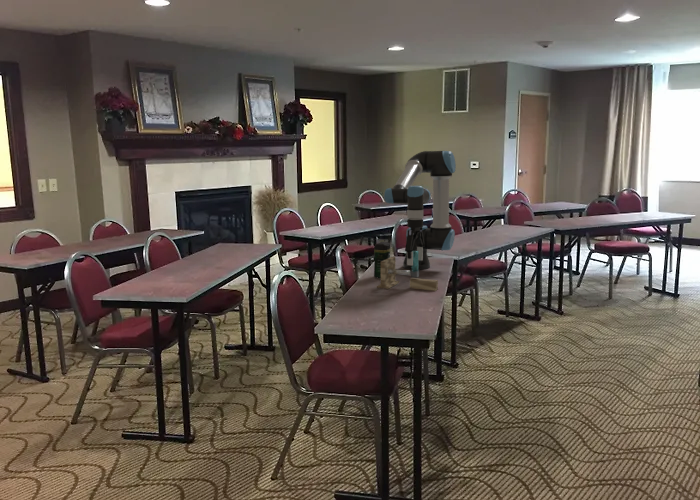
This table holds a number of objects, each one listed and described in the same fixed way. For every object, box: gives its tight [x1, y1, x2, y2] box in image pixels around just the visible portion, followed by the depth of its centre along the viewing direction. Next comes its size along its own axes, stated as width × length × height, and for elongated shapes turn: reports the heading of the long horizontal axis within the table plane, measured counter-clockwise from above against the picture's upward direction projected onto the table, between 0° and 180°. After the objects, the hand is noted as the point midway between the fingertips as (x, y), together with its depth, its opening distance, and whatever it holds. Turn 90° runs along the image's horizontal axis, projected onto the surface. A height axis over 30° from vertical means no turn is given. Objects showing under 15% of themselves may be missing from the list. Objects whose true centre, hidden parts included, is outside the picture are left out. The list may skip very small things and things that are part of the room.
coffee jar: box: [373, 241, 391, 279], centre depth 304 cm, size 10×8×19 cm
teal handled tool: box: [388, 251, 420, 278], centre depth 282 cm, size 3×18×13 cm, turn 63°
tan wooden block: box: [376, 256, 400, 290], centre depth 286 cm, size 14×6×13 cm, turn 153°
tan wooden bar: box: [409, 277, 439, 292], centre depth 279 cm, size 3×13×4 cm, turn 63°
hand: (414, 262), depth 279 cm, fingers open, 13 cm apart
